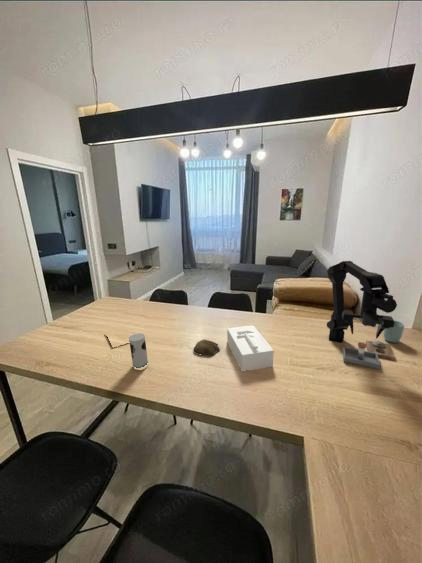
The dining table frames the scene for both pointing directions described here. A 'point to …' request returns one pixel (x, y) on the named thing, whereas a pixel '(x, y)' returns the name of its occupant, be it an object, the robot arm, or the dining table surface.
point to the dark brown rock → (206, 347)
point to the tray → (368, 360)
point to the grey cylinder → (138, 350)
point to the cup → (394, 332)
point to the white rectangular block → (249, 348)
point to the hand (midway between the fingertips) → (364, 335)
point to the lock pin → (361, 351)
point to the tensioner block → (380, 349)
